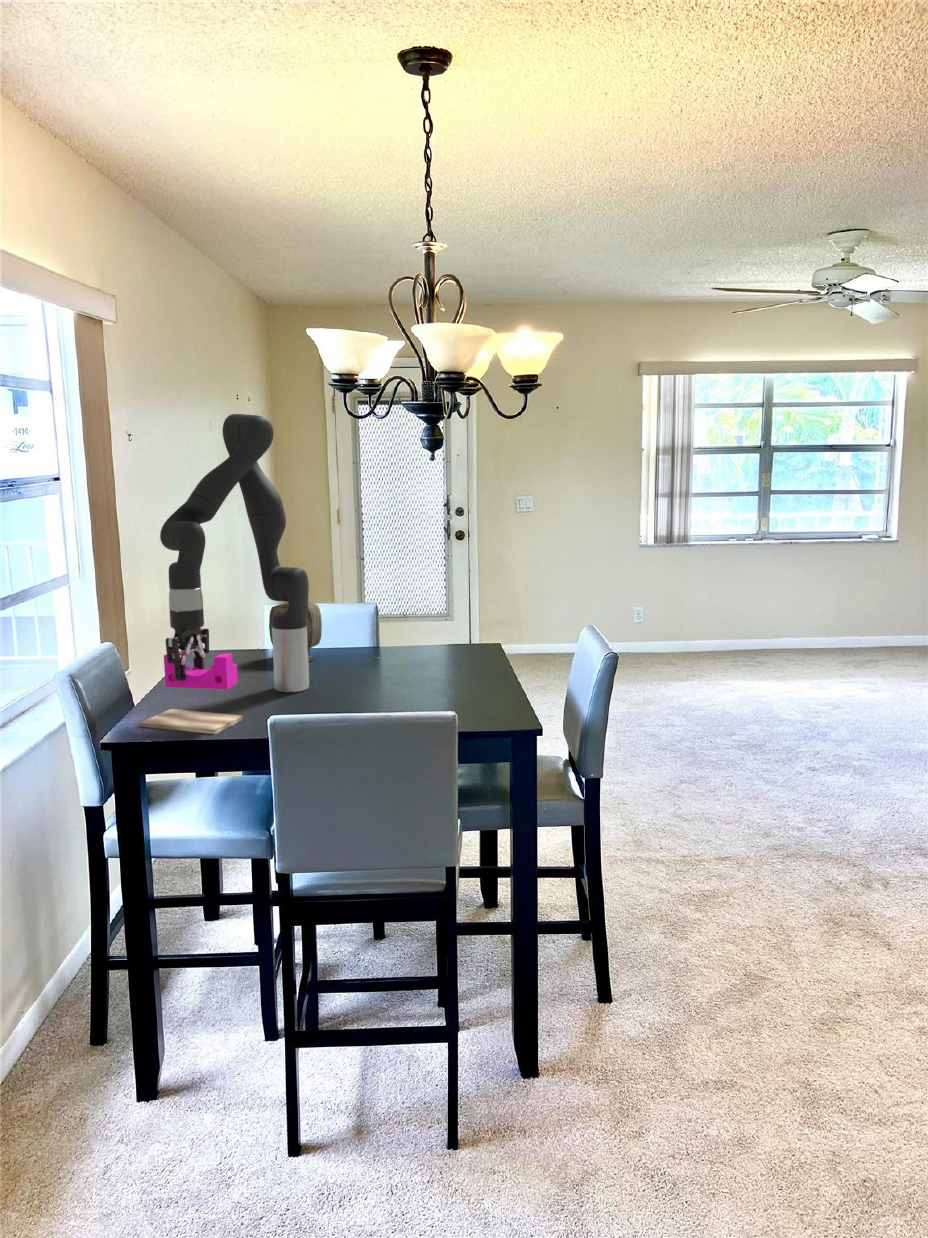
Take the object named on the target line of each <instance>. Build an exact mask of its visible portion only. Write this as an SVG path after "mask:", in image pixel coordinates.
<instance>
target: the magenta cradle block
mask: <svg viewBox="0 0 928 1238" xmlns="http://www.w3.org/2000/svg"><path fill="white" fill-rule="evenodd" d="M173 657H174V654H172V658H173ZM179 658H180V659H181V655H180V656H179ZM213 659H214V660H213V663H212V665H211V668H209V669H204V670H203V669H199V668H197V667H194V666H193V668H190V667H188V665H187V664H185V663H184V665H185V675H186V679H185V680H184V681H178V680H176V677H175V666H174V664H171V663H168V661H167V653H166V654H164V655H163V665H164V666H163V667H164V669H163V670H164V681H165V682H164V684H165V688H179V689H182V688H183V689H209V690H210V689H211V690H212V689H213V690H228V689H230V688H232V687H233V686H235V685H236V684H237V683H239V682H238V665H237V663H234V662H233V653H220V654H218V655H216V656H214V658H213Z"/></svg>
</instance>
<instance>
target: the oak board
mask: <svg viewBox="0 0 928 1238" xmlns="http://www.w3.org/2000/svg"><path fill="white" fill-rule="evenodd" d="M239 721H240V722H241V721H244V716H243V715H239V714H229V713H219V712H218V713H217V712H207V711H197V710H188V709H179V708H178V709H176V708H170V709H167V710H166V711H162V712H161V713H158V714H157V715H153V716H152V717H149V718H147V719H145V720H143V721H140V722H139V725H140V727H143V728H153V729H160V730H161V729H162V730H170V731H171V730H172V731H179V732H181V731H182V732H189V733H190V732H191V733H200V734H208V735H210V734H211V735H216V734H219V733H220V732H221V731H224V730H226V729H228V728H229V727H232V726H233V725H236V724H237V723H239Z"/></svg>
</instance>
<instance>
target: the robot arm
mask: <svg viewBox="0 0 928 1238" xmlns="http://www.w3.org/2000/svg"><path fill="white" fill-rule="evenodd" d="M223 421H224V422H223V424H222V438H223V443H224V446H225V448H226V450H227V454H228V457H227V458H226V459H225V460H223V461H222V462H221V463H220V464H218V465H217V466H216V467H214V468H213V469H211V470H210V471H209V472H208V473H207V474H205V475H204V476H203V477H202V479H200V481H199V482H198V483H197V484H196V486H195V487H194V489H193V491H191V494H190V495H189V497H188V498H187V500H186V501H185V502H184V503H183V504H182V505H180V506H179V507H178V508H177V509H176V510H175V511H174V512H173V513H172V514H171V515H169V517H168V518H167V519H166V521H164V523H163V525H162V527H161V529H160V534H159V538H160V543H161V545H162V546H163V547H165V549H167V550H169V551H175V552H178V556H177V561H175V562H173V563H170V565H169V566H168V587H169V588H168V589H169V591H168V607H169V611H168V612H169V622H170V623H169V626H170V628H171V629H172V630H174V633H173V634H174V635H173V637H166V638H165V648H166V654H167V661H168V663H171V664H174V666H175V677H176V680H178V681H184V680H185V679H186V675H185V665H186V664H185V662H186V659H187V657H188V656H189V654H190V652H191V653H192V655H193V668H194V667H197V668H199V669H203V670H205V661H204V658H205V657H206V655H207V654H209V653H210V630H209V628H202V627H204V626H205V617H204V615H205V614H204V613H205V612H204V597H203V592H202V581H201V580H202V579H201V568H202V564H203V560H204V553H205V548H206V535H205V531H204V529H203V527H202V525H201V524H204V523H208V522H210V521H212V520H213V518H214V517H215V516H216V514H217V512H218V511H219V510H220V509H221V507H222V505H223V503H224V502H225V501H226V498H227V497H228V496H229V495H230V493H231V492H232V490H233V489H234V488H235V487H236V485H237V484H238V485H239V488H240V491H241V495H242V498H243V502H244V506H245V507H244V508H245V511H246V514H247V519H248V522H249V525H250V528H251V531H252V535H253V539H254V543H255V547H256V552H257V556H258V561H259V569H260V575H261V580H262V585H263V589H264V592H265V595H266V596H267V598H268V599H270V600H272V601H274V602H283V603H285V602H289V603H288V609H287V611H285V612H284V613H281V614H278V615H275V616H273V618H272V635H273V645H272V655H273V657H272V658H273V662H272V663H273V684H274V685H273V687H274V690H275V691H276V690H277V692H281V693H296V692H302V691H306V690H308V689H309V687H310V668H309V667H310V665H309V664H310V663H309V662H310V661H309V659H308V657H309V656H308V646H307V617H308V602H309V586H310V585H309V583H310V582H309V577H308V574H307V572H306V570H305V569H303V568H300V567H290V566H289V567H288V566H281V565H280V560H279V556H278V550H279V549H278V548H279V545H280V542H281V539H282V537H283V535H284V532H285V530H286V525H287V517H286V513H285V509H284V505H283V501H282V497H281V495H280V493H279V491H278V489H276V487H275V485H273V483H272V482H271V481H270V479H269V478H268V476H266V474H265V473H264V471H263V470H262V468H261V467H260V465H259V462H258V461H259V460H260V459H261V458H262V457H263V456H264V454H265V453H266V452H267V451H268V450H269V448H270V447H271V445H272V443H273V441H274V435H275V432H274V426H273V425H272V422H271V421H270V420H269V418H267V417H265V416H263V415H257V414H245V413H232V414H229V415H228V416H226V418H225V419H224V420H223ZM203 644H204V645H203ZM172 654H174V657H173V658H172ZM179 656H180V657H181V659H180V658H179ZM184 664H185V665H184Z"/></svg>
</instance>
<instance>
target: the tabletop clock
mask: <svg viewBox="0 0 928 1238" xmlns="http://www.w3.org/2000/svg"><path fill="white" fill-rule="evenodd" d="M288 603H289V602H282V603H279V604H277V605H274V606H272V607H271V608H270V611H269V618H268V619H269V620H268V630H269V637H270V642H271V645H272V646H273V635H272V618H273V616H275V615H278V614H281V613H284V612H285V611H287V609H288ZM322 623H323V621H322V614H321V609H320V608H319V605H318V604H316V603H314V602H309V601H308V617H307V646H308V659H309V662H311V661H313V660H314V658H313V657H314V656H312V655H311V651H310V649H311V648H313V647H315V646H318V645H319V644H320V642H321V640H322V631H323V629H322V628H323V626H322V625H323V624H322Z"/></svg>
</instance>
